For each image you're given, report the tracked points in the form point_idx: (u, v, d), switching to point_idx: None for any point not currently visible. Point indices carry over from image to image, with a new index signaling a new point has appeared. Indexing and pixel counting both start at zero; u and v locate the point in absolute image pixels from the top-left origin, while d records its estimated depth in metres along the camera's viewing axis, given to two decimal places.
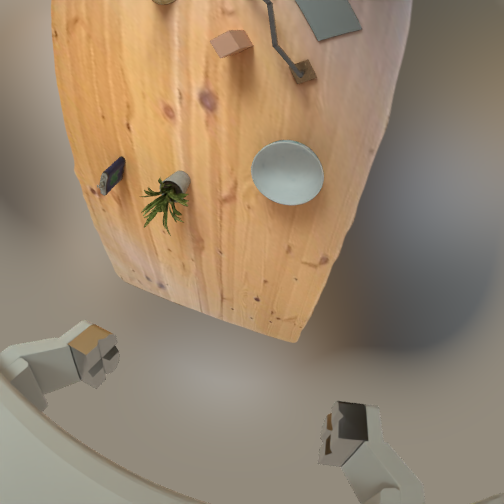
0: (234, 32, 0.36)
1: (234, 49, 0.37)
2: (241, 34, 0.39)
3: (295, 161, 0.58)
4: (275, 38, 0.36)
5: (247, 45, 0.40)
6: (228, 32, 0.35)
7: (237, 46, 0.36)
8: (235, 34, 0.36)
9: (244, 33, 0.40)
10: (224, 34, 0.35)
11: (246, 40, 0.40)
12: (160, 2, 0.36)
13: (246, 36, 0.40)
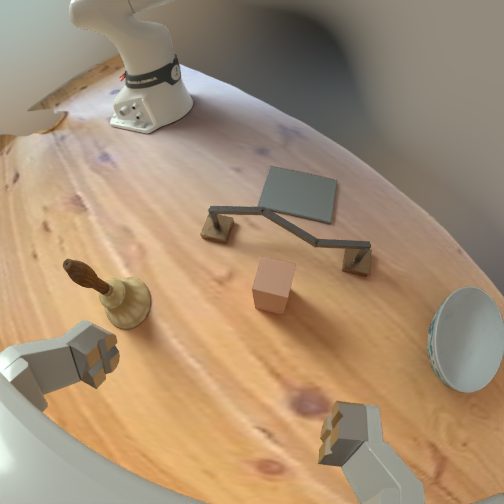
0: None
1: (292, 270, 0.30)
2: None
3: (451, 340, 0.32)
4: (308, 235, 0.36)
5: None
6: (263, 258, 0.31)
7: (291, 264, 0.31)
8: None
9: None
10: (261, 264, 0.31)
11: None
12: (132, 322, 0.37)
13: None
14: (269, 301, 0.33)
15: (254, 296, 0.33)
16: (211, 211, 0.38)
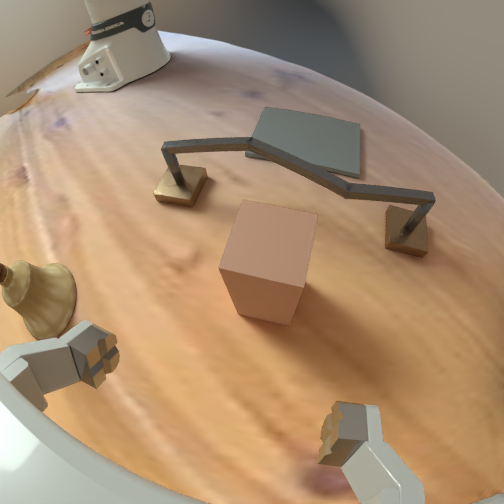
0: None
1: (310, 228, 0.13)
2: None
3: None
4: (333, 176, 0.19)
5: None
6: (246, 203, 0.14)
7: (307, 215, 0.14)
8: None
9: None
10: (242, 216, 0.14)
11: None
12: (48, 331, 0.20)
13: None
14: (261, 299, 0.15)
15: (229, 288, 0.15)
16: (164, 148, 0.21)
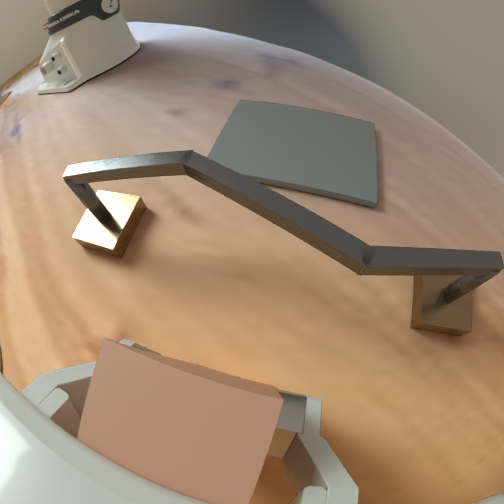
0: (159, 356, 0.07)
1: (256, 439, 0.04)
2: (204, 368, 0.10)
3: None
4: (337, 231, 0.10)
5: (267, 387, 0.09)
6: (111, 351, 0.05)
7: (253, 401, 0.05)
8: (175, 362, 0.07)
9: (209, 368, 0.12)
10: (100, 383, 0.05)
11: (241, 379, 0.11)
12: None
13: (224, 373, 0.12)
14: None
15: None
16: (65, 177, 0.12)
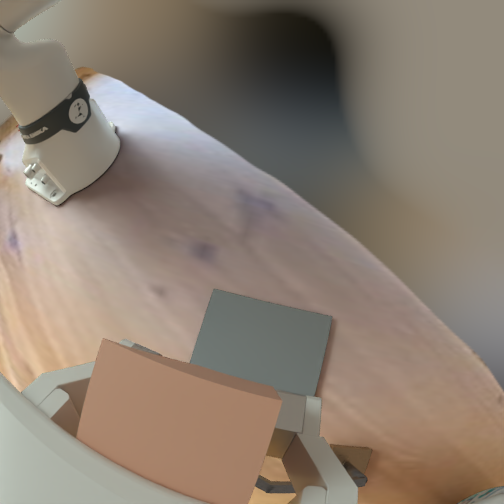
0: (158, 356, 0.07)
1: (255, 440, 0.04)
2: (203, 369, 0.10)
3: None
4: None
5: (267, 387, 0.09)
6: (109, 352, 0.05)
7: (252, 402, 0.05)
8: (173, 362, 0.07)
9: (208, 369, 0.12)
10: (99, 384, 0.05)
11: (240, 379, 0.11)
12: None
13: (224, 374, 0.12)
14: None
15: None
16: None
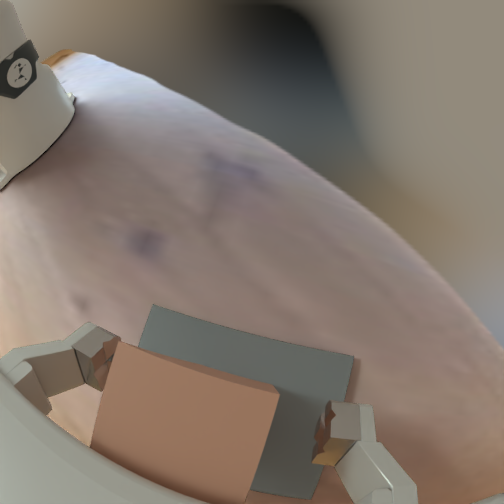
0: (166, 356, 0.08)
1: (256, 429, 0.05)
2: (206, 367, 0.11)
3: None
4: None
5: None
6: (125, 353, 0.06)
7: (253, 395, 0.05)
8: (181, 362, 0.08)
9: (211, 368, 0.13)
10: (116, 382, 0.05)
11: (241, 378, 0.11)
12: None
13: (226, 372, 0.13)
14: None
15: None
16: None
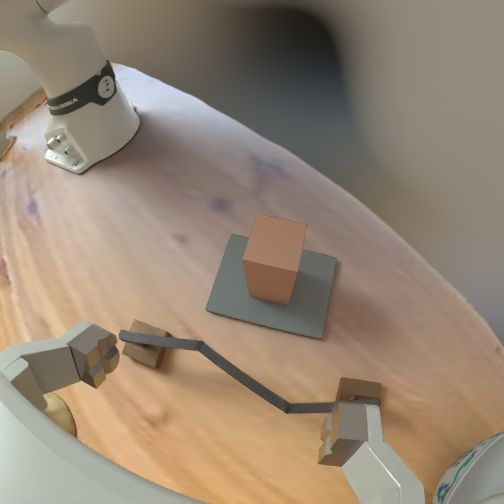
0: None
1: (301, 233, 0.21)
2: None
3: (465, 476, 0.15)
4: (275, 396, 0.19)
5: None
6: (259, 216, 0.21)
7: (300, 225, 0.21)
8: None
9: None
10: (256, 225, 0.21)
11: None
12: None
13: None
14: (269, 281, 0.23)
15: (247, 274, 0.22)
16: (120, 339, 0.21)
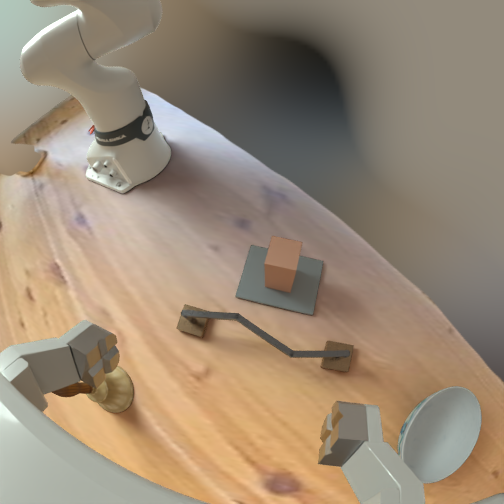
0: None
1: (298, 248, 0.35)
2: None
3: (427, 426, 0.29)
4: (284, 346, 0.33)
5: None
6: (273, 237, 0.36)
7: (298, 242, 0.35)
8: None
9: None
10: (272, 243, 0.35)
11: None
12: (118, 408, 0.34)
13: None
14: (279, 276, 0.37)
15: (265, 272, 0.37)
16: (183, 315, 0.35)
